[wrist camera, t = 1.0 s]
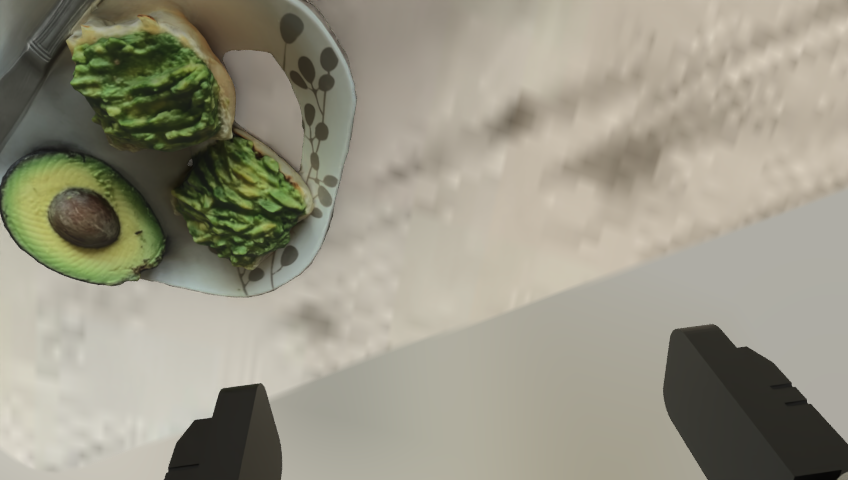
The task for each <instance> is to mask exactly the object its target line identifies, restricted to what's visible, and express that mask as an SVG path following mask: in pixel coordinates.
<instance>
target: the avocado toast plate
mask: <svg viewBox="0 0 848 480" xmlns="http://www.w3.org/2000/svg"><path fill="white" fill-rule="evenodd" d="M231 50H238V51H239V50H254V51H264V52H268V53H271V54H272V55H273V57H274V58H275V60H276V61H277V62H278V64H279V65H280V66H281V68H282V69H283V70H284V72H285V73H286V75H287V77H288V79H289V81H290V83H291V85H292V89H293V91H294V93H295V95H296V98H297V100H298V102H299V104H300V109H301V113H302V126H303V129H304V141H303V146H302V159H301V166H300V171H299V172H298V173H297V172H296V171H295V170H294V169H293V168H292V167H291V166H290V165H288V164H287V163H286V161H285V160H284V159H282V158H281V157H280V156H278V155H277V154H276V153H275V152H274V151H273V150H272V149H270V148H269V147H268V146H266V145H265V144H263V143H262V142H260V141H259V140H257V139H255V138H254V137H252V136H251V135H249V134H248V133H247V132H246V131H245V130H244V128H242V127H241V126H240V125H238V124H237V123H236V122H235V121H234V117H235V105H236V94H235V88H234V85H233V82H232V80H231V78H230V76H229V74H228V72H227V70H226V67H225V65H224V62H223V56H224V54H225V53H226V52H229V51H231ZM356 101H357V96H356V92H355V84H354V81H353V78H352V75H351V71H350V66H349V61H348V57H347V55H346V53H345V51H344V50H343V49H342V47H341V45H340V44H339V42H338V40H337V38H336V37H335V35H334V33H333V32H332V31H331V29H330V28H329V26H328V24H327V23H326V21H325V19H324V17H323V16H322V14H321V13H320V12H319V11H318V10H317V8H316V7H315V6H313V5H311V4H310V3H308V2H306V1H305V0H0V214H1V217H2V221H3V223H4V226H5V228H6V229H7V231H8V232H9V234H10V236H11V237H12V239H13V240H14V241H15V242H16V244H17V245H18V246H19V248H20V249H22V250H23V251H25V252H26V253H27V254H29V255H30V256H31V257H33V258H34V259H35V260H36V261H37V262H38V263H40V264H42V265H44V266H45V267H47V268H49V269H51V270H53V271H55V272H57V273H59V274H61V275H64V276H66V277H69V278H72V279H76V280H79V281H83V282H87V283H91V284H97V285H108V286H116V285H121V284H123V283H124V282H126V281H138V280H139V279H144V280H148V281H156V282H160V283H164V284H167V285H169V286H174V287H179V288H185V289H189V290H193V291H197V292H202V293H207V294H212V295H219V296H226V297H253V296H258V295H262V294H265V293H268V292H271V291H274V290H275V289H277V288H279V287H280V286H282V285H284V284H286V283H288V282H289V281H291V280H292V279H294V278H295V277H297V276H299V275H300V274H301V273H302V272H303V271H304V270H305V269H307V268H308V267H309V266H310V264H312V262H313V260H314V258H315V256H316V255H317V253H318V251H319V250H320V249H321V246H322V244H323V242H324V239H325V237H326V234H327V232H328V230H329V227H330V222H331V219H332V217H333V209H334V204H335V199H336V195H337V191H338V188H339V184H340V180H341V176H342V172H343V167H344V163H345V160H346V156H347V154H348V151H349V142H350V140H351V135H352V128H353V120H354V114H355V108H356ZM190 159H192V160H193V165H192V166H188V162H189V160H190Z"/></svg>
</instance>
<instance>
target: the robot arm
mask: <svg viewBox="0 0 848 480" xmlns="http://www.w3.org/2000/svg"><path fill="white" fill-rule="evenodd" d="M663 395H664V401H665V405H666V409H667V412H668V415H669V417H670V419H671V421H672V422H673V424H674V425H675V427H676V429H677V430H678V432H679V434H680V435H681V437H682V438H683V440H684V441H685V443H686V445H687V447H688V448H689V450H690V452H691V453H692V455H693V456H694V458H695V460H696V461H697V463H698V464H699V466H700V468H701V469H702V471H703V473H704V474H705V476H706V477H707V479H708V480H848V444H847V443H846V442H845V441H844V440H843V438H842V437H841V436H840V435H839V434H838V433H837V432H836V431H835V430H834V429H833V428H832V427H831V425H829V423H828V422H827V421H826V420H825V419H824V418H823V417H822V416H821V414H820V413H819V412H818V411H817V410H816V409H815V408H814V407H813V406H812V405H811V404H808V403H807V399H806V398H805V397H804V396H803V395H802V394H801V393H800V392H799V390H797V388H796V387H792V383H791V382H790V381H789V380H788V379H787V378H786V376H785V375H784V374H783V373H782V372H781V371H780V370H779V369H778V367H777V366H776V365H775V364H774V363H772V362H771V361H769V360H768V359H766V358H765V357H763V356H761V355H760V354H758V353H756V352H755V351H753V350H751V349H750V348H748V347H740V348H736V347H735V345H734V344H733V343H732V342H731V341H730V340H729V338H728V337H727V336H726V335H725V334H724V333H723V331H722V330H721V329H720V328H719V327H718V326H716V325H714V324H710V325H702V326H695V327H687V328H680V329H675V330H673V332H672V334H671V336H670V342H669V350H668V356H667V364H666V371H665V379H664V387H663ZM168 470H169V471H168V473H166V476H165V479H164V480H281V474H282V452H281V444H280V439H279V435H278V432H277V429H276V425H275V422H274V418H273V414H272V411H271V408H270V404H269V400H268V397H267V393H266V390H265V388H264V386H263V384H261V383H260V384H252V385H245V386H237V387H230V388H223V389H221V391H220V393H219V395H218V399H217V402H216V406H215V409H214V413H213V417H212V418H207V419H199V420H195V421H194V422H193V423H192V424H191V425H190V427H189V428H188V429H187V430H186V432H185V433H184V434H183V436H182V437H181V438H180V439H179V440H178V442H177V443H176V446H175V449H174V452H173V455H172V458H171V461H170V464H169V467H168Z"/></svg>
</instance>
